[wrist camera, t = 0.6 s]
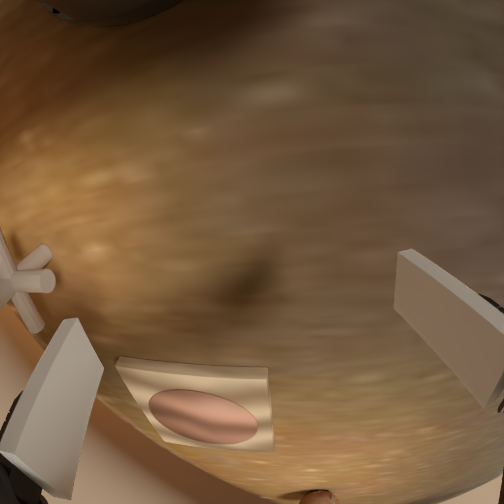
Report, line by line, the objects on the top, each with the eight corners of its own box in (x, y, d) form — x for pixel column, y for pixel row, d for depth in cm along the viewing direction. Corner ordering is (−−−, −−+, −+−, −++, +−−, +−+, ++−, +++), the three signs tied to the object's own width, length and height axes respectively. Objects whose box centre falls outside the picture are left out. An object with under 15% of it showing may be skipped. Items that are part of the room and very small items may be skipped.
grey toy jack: (36, 294, 27) (-15, 354, 18) (2, 212, 22) (-67, 261, 13) (100, 296, 25) (44, 375, 16) (62, 194, 20) (-26, 255, 12)
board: (119, 356, 29) (113, 367, 28) (267, 367, 27) (266, 382, 25) (166, 433, 38) (163, 442, 36) (274, 443, 36) (273, 454, 34)
